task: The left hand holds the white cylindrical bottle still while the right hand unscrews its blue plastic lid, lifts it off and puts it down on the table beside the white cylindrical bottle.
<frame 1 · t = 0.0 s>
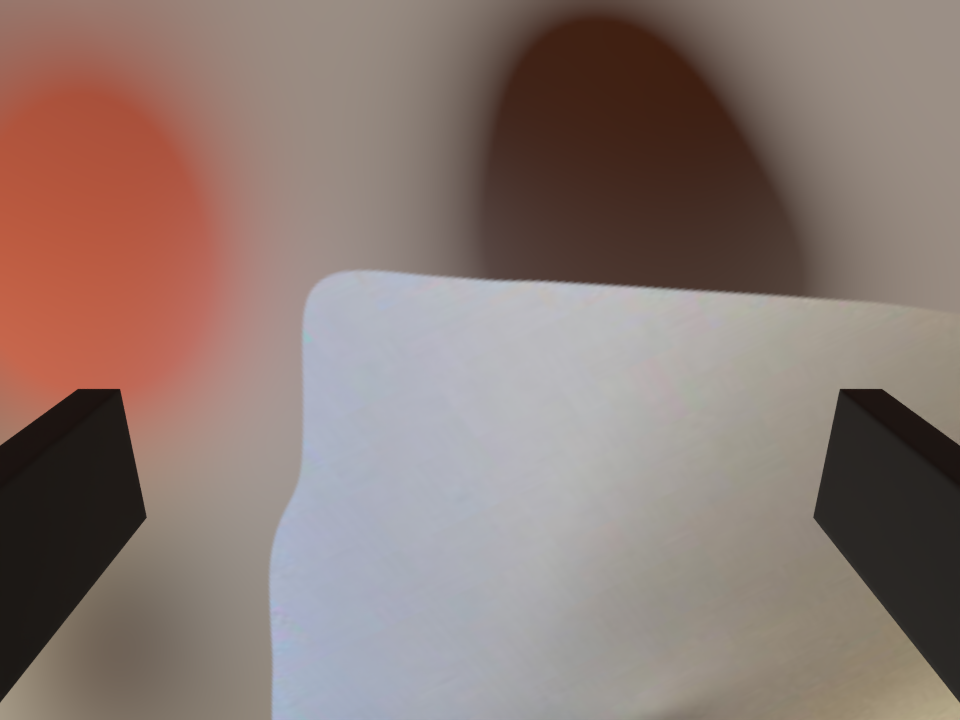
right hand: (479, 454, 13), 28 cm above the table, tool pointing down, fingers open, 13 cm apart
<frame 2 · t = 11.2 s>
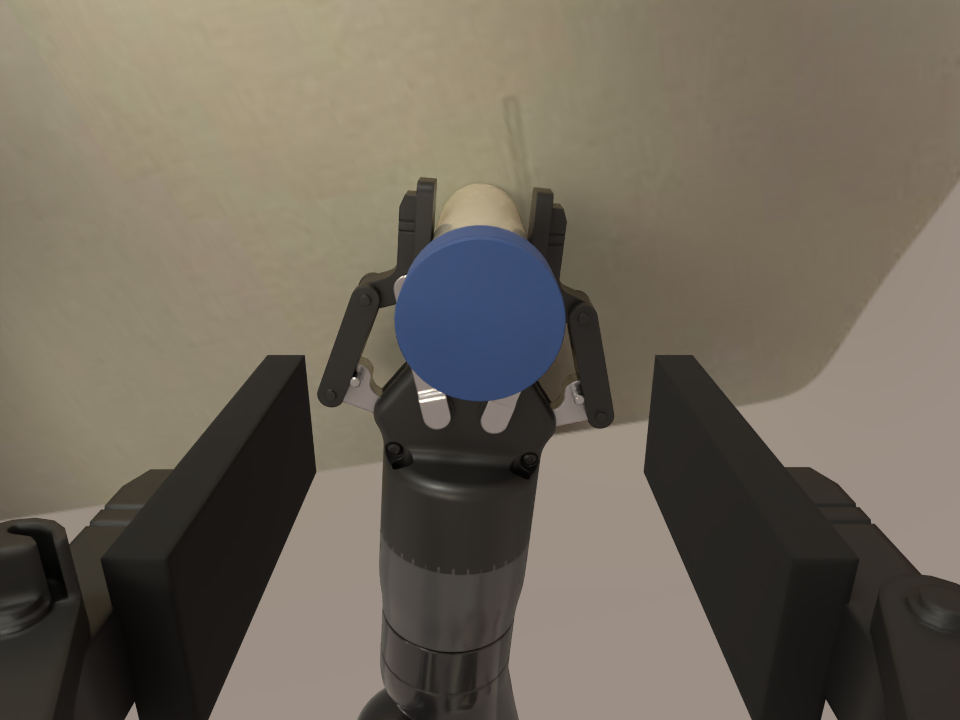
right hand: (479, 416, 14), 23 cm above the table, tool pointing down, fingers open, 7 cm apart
left hand: (484, 187, 28), fingers closed on white cylindrical bottle, 4 cm apart
lid: (480, 320, 20), point 16 cm above the table, screwed on, not yet turned
white cylindrical bottle: (479, 224, 36), on the table, touching left hand
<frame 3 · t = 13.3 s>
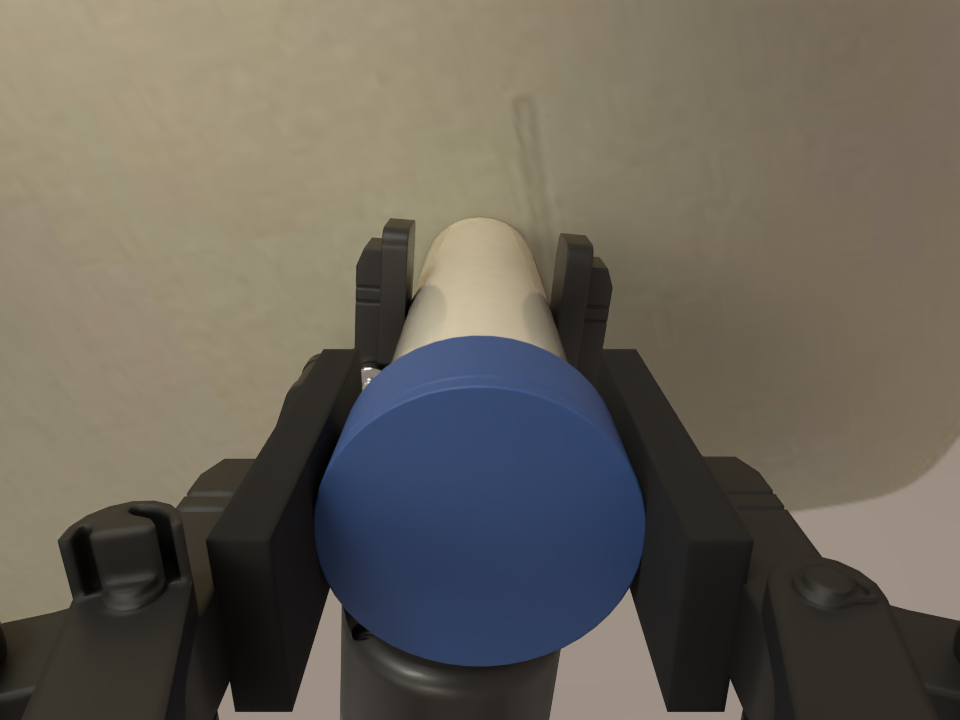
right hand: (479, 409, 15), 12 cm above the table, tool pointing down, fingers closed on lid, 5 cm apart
lid: (479, 525, 11), point 16 cm above the table, screwed on, not yet turned, touching right hand
white cylindrical bottle: (479, 272, 26), on the table, touching left hand
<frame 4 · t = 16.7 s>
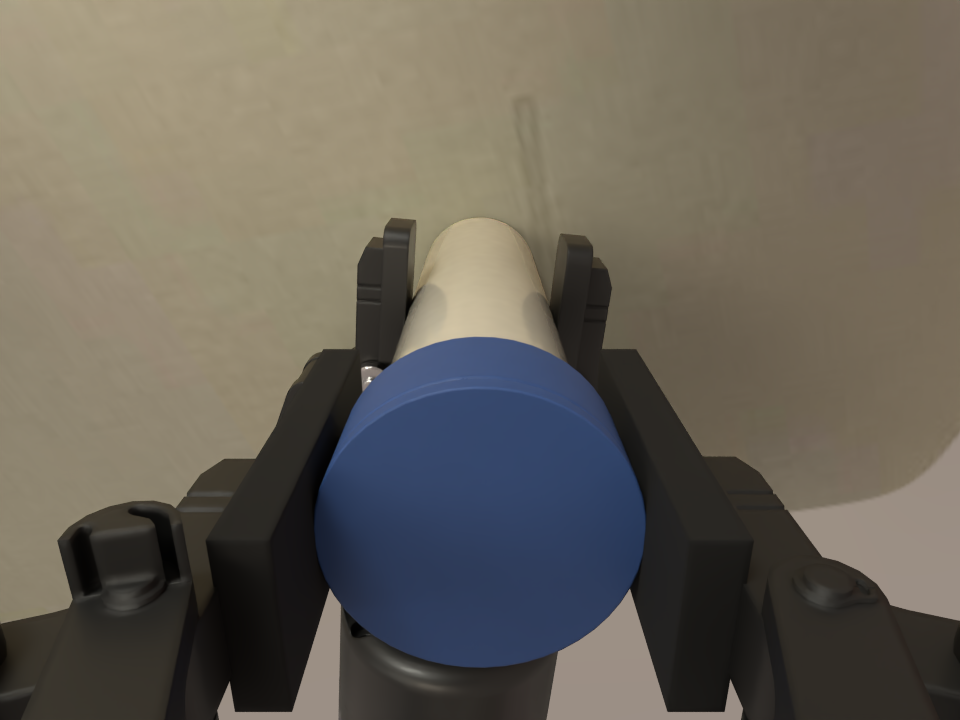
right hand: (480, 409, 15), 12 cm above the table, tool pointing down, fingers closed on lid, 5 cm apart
lid: (479, 526, 11), point 16 cm above the table, turned 112° so far, risen 0.1 cm, still on its thread, touching right hand
white cylindrical bottle: (479, 272, 26), on the table, touching left hand
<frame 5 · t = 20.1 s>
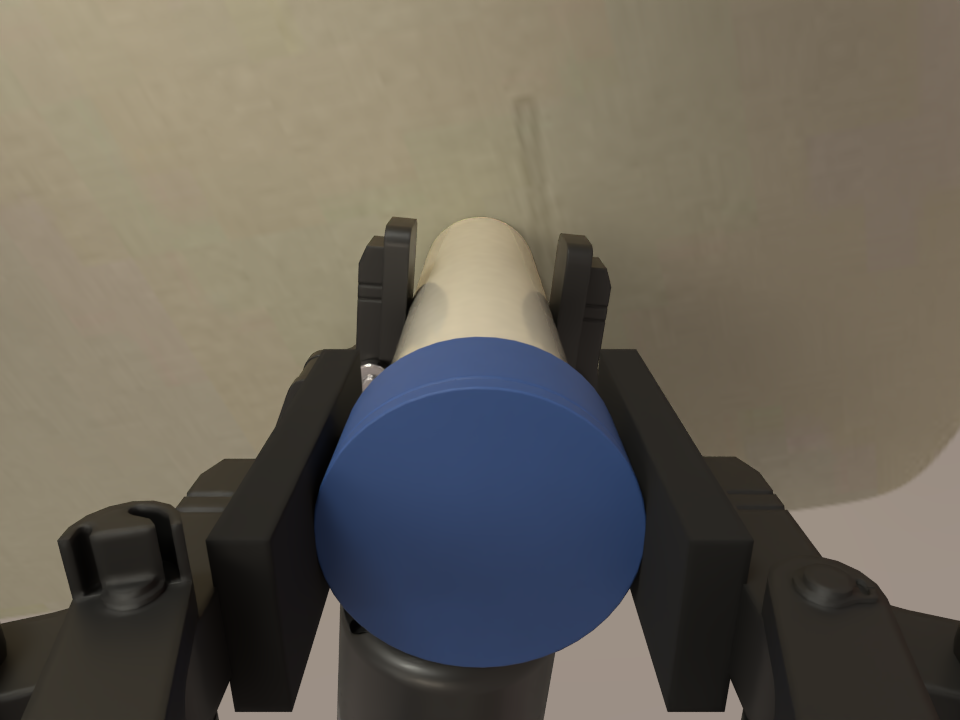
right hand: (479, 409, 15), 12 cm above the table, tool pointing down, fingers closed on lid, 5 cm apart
lid: (479, 526, 11), point 17 cm above the table, turned 225° so far, risen 0.2 cm, still on its thread, touching right hand
white cylindrical bottle: (479, 271, 26), on the table, touching left hand
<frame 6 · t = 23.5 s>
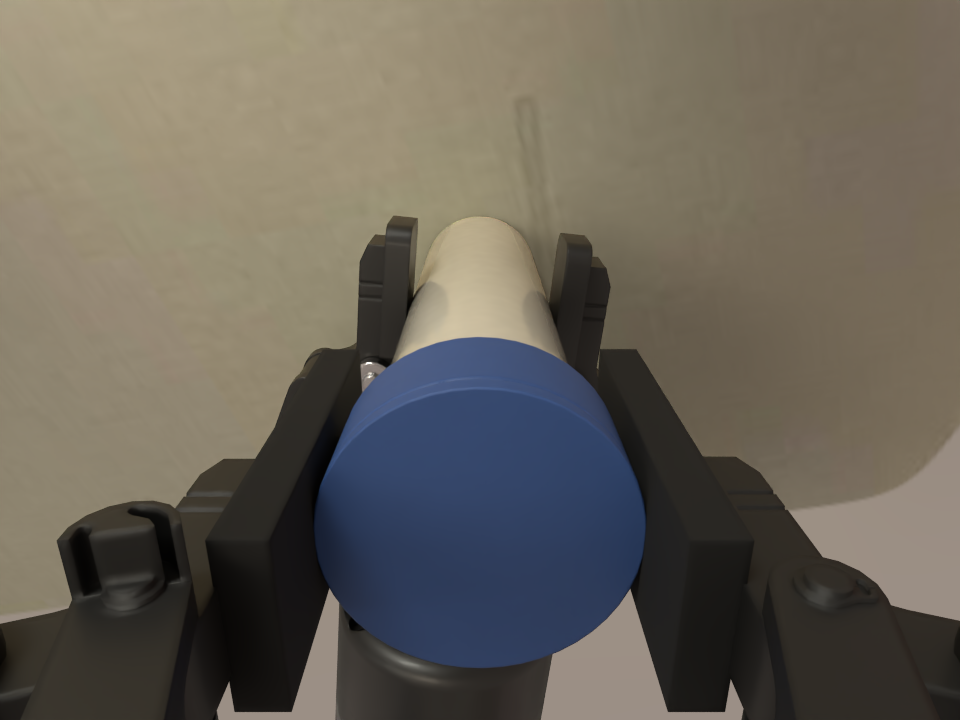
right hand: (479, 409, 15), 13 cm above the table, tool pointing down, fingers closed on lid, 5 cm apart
lid: (479, 527, 11), point 17 cm above the table, turned 337° so far, risen 0.4 cm, still on its thread, touching right hand
white cylindrical bottle: (479, 270, 26), on the table, touching left hand
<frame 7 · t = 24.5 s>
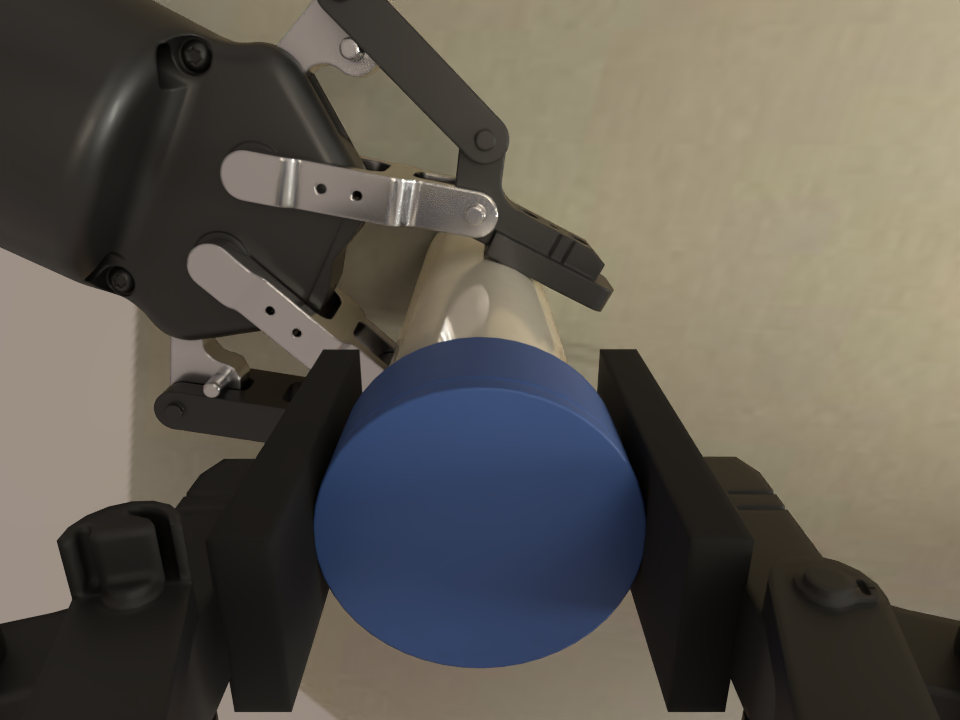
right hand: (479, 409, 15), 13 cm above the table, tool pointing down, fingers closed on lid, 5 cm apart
left hand: (559, 360, 20), fingers closed on white cylindrical bottle, 4 cm apart
lid: (479, 527, 11), point 17 cm above the table, off its thread, touching right hand
white cylindrical bottle: (478, 268, 26), on the table, touching left hand
when the right hand's fingers open (0 cm above the table, at t = 29.9 s): lid stays where it is, point 2 cm above the table.
when the left hand's fingers open (7 cm above the table, at t = 30.9 s): white cylindrical bottle stays where it is, on the table.
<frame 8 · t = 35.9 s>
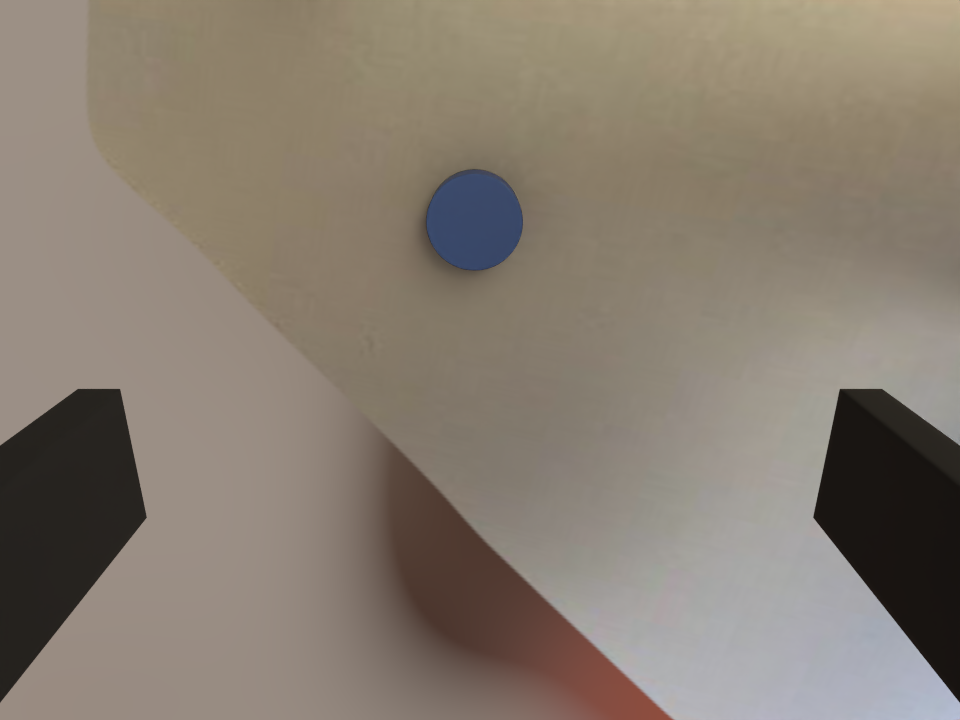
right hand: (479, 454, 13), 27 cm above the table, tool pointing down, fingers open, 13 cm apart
lid: (474, 222, 36), point 2 cm above the table, off its thread
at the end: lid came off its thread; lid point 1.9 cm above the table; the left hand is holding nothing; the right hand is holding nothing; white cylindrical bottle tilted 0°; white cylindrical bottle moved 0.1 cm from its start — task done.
